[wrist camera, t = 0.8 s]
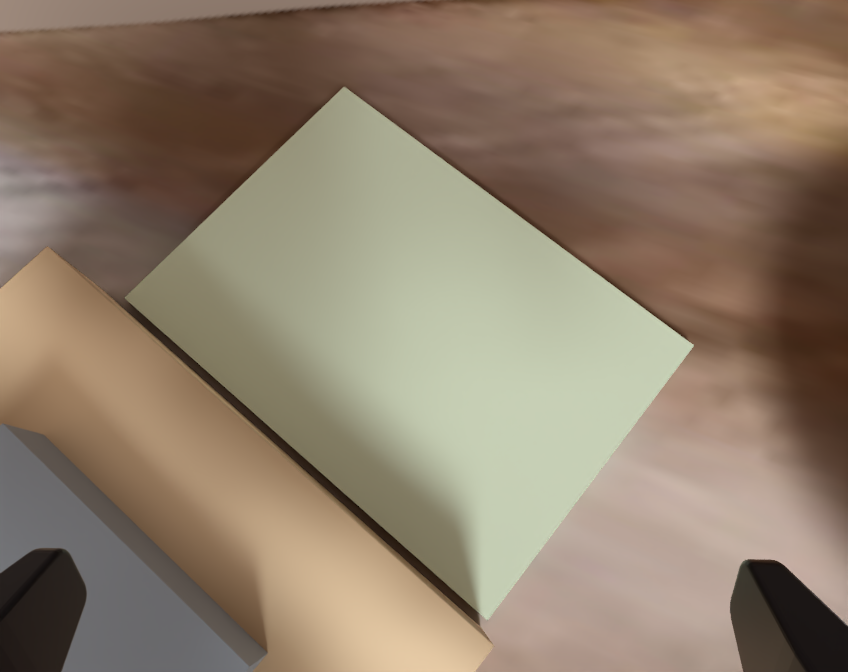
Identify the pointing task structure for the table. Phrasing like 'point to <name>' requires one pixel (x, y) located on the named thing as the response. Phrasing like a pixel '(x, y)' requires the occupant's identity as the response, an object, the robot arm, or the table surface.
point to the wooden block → (216, 488)
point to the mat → (414, 343)
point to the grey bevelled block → (112, 571)
